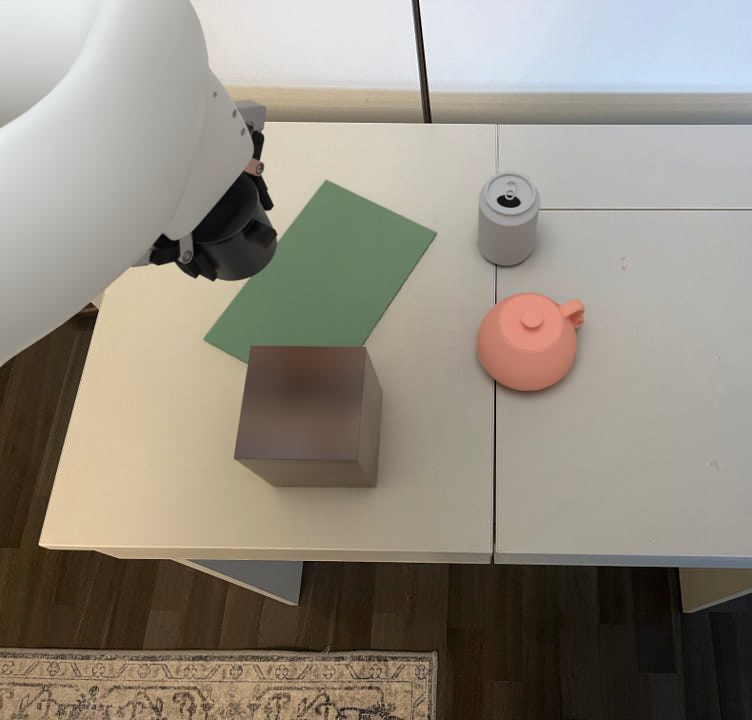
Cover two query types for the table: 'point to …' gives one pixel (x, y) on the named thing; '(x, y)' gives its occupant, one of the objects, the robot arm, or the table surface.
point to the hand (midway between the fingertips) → (230, 235)
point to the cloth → (324, 277)
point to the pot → (237, 233)
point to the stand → (310, 417)
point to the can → (507, 218)
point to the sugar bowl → (529, 340)
